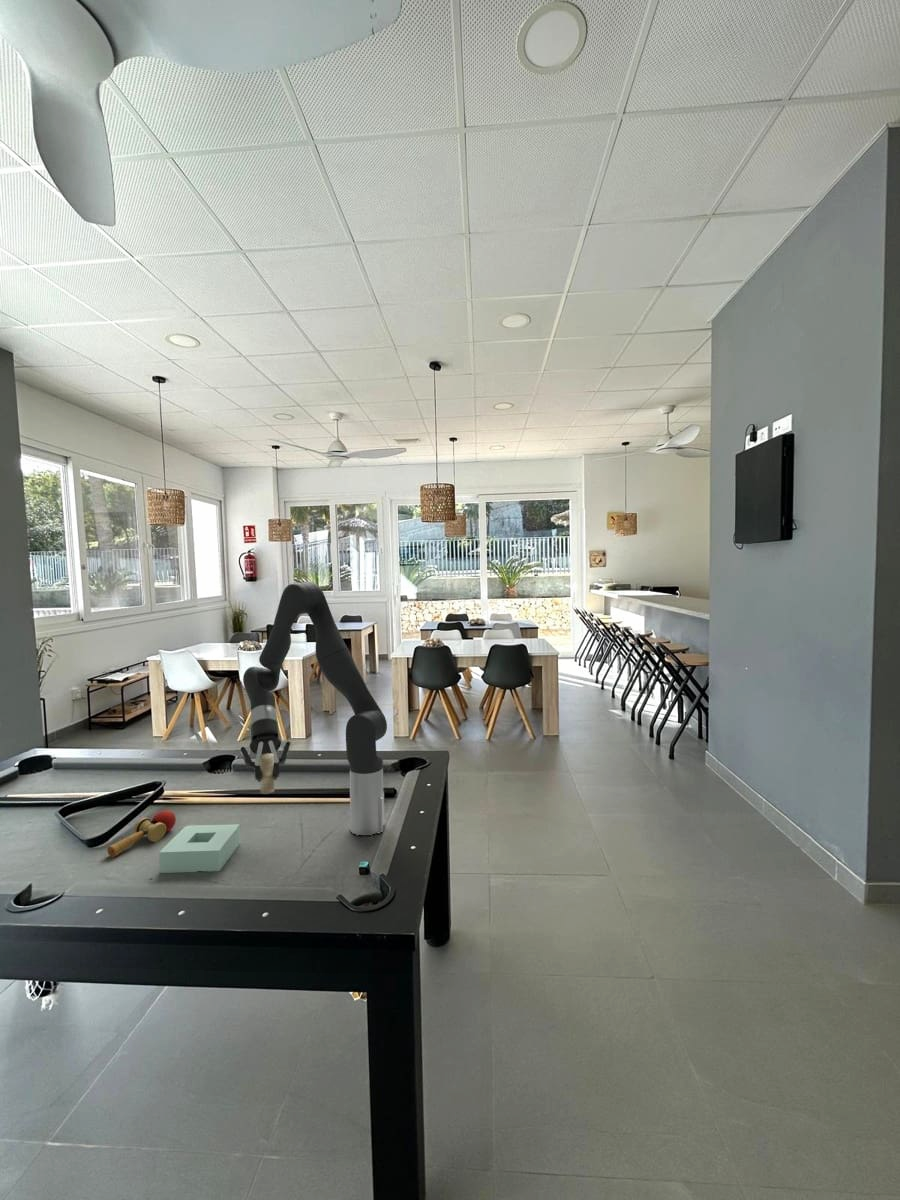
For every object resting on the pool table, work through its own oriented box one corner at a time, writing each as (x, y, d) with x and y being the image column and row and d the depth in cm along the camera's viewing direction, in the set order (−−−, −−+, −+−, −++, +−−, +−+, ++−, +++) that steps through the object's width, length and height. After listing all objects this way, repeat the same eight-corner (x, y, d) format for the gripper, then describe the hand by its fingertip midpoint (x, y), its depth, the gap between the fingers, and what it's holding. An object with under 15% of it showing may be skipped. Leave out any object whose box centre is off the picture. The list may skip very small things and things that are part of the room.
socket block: (240, 842, 138) (239, 824, 138) (219, 871, 124) (219, 850, 124) (186, 844, 137) (186, 825, 137) (159, 873, 123) (159, 852, 123)
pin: (276, 788, 144) (275, 753, 144) (272, 793, 141) (271, 757, 140) (262, 789, 144) (262, 753, 144) (258, 794, 140) (257, 757, 140)
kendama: (125, 865, 130) (185, 825, 146) (118, 841, 129) (179, 804, 146) (105, 865, 133) (166, 825, 149) (98, 841, 132) (160, 805, 149)
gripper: (237, 720, 146) (239, 776, 135) (290, 714, 152) (295, 768, 141) (238, 734, 151) (239, 790, 140) (288, 728, 157) (293, 781, 146)
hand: (267, 779), depth 140 cm, fingers closed on pin, 3 cm apart
